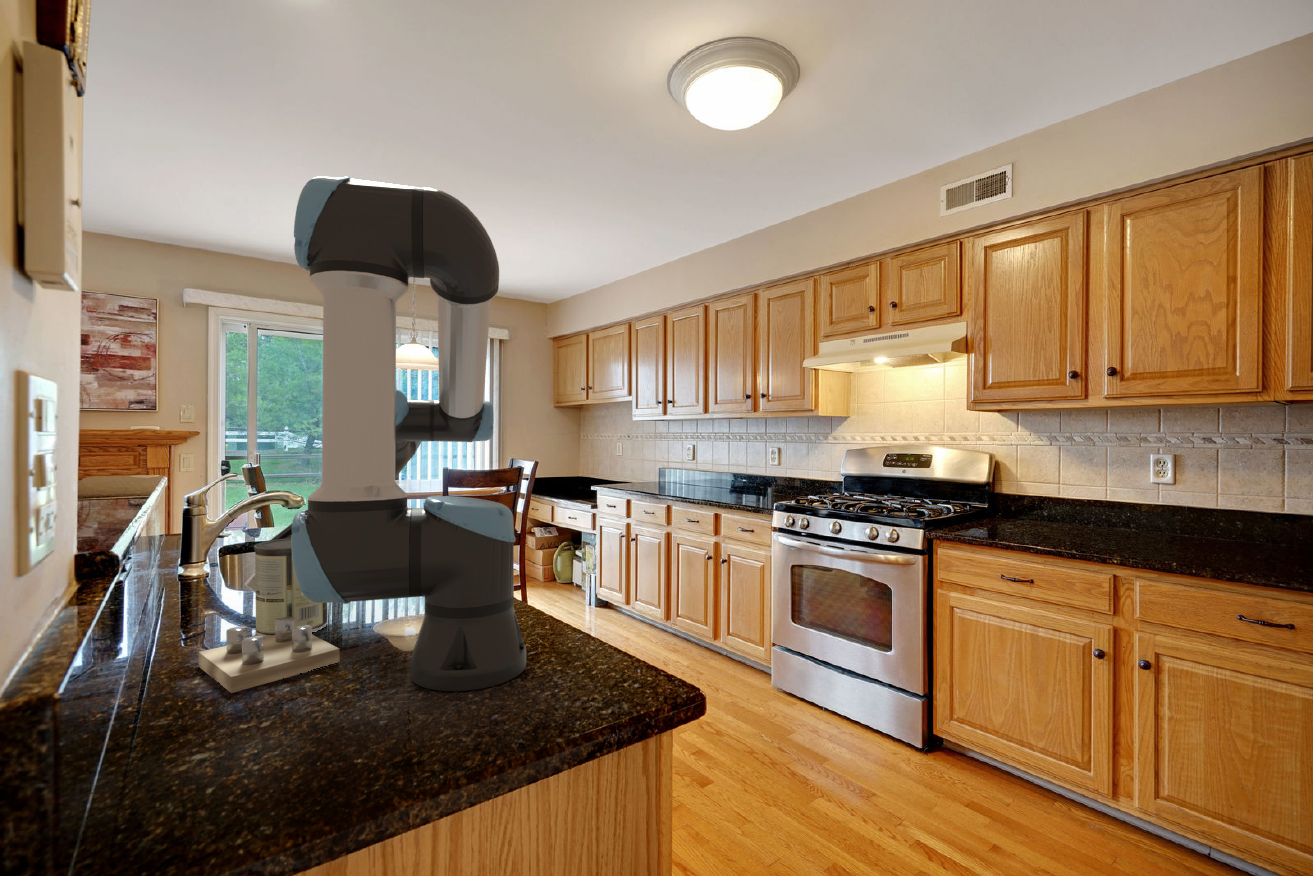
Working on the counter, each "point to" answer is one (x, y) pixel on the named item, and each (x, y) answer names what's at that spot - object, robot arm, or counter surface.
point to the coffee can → (281, 590)
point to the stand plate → (265, 663)
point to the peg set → (255, 645)
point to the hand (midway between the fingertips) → (278, 594)
